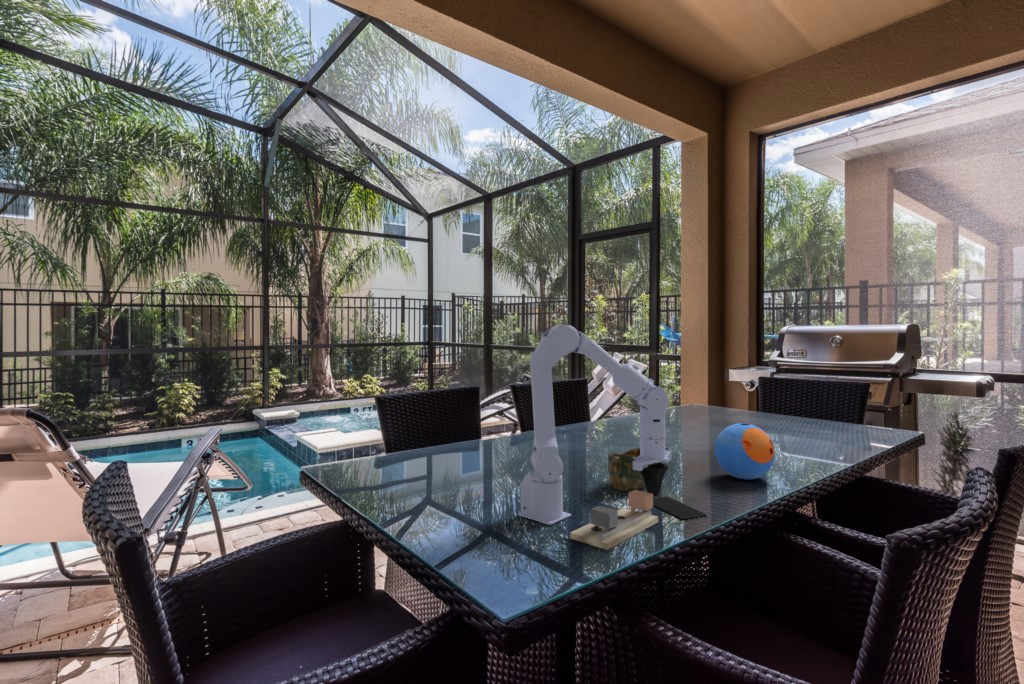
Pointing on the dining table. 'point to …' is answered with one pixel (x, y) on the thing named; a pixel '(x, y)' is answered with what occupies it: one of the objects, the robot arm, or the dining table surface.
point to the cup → (625, 471)
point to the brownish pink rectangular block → (640, 500)
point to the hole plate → (590, 535)
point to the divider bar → (623, 525)
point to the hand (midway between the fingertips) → (653, 495)
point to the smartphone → (676, 508)
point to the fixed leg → (604, 517)
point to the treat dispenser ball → (744, 451)
